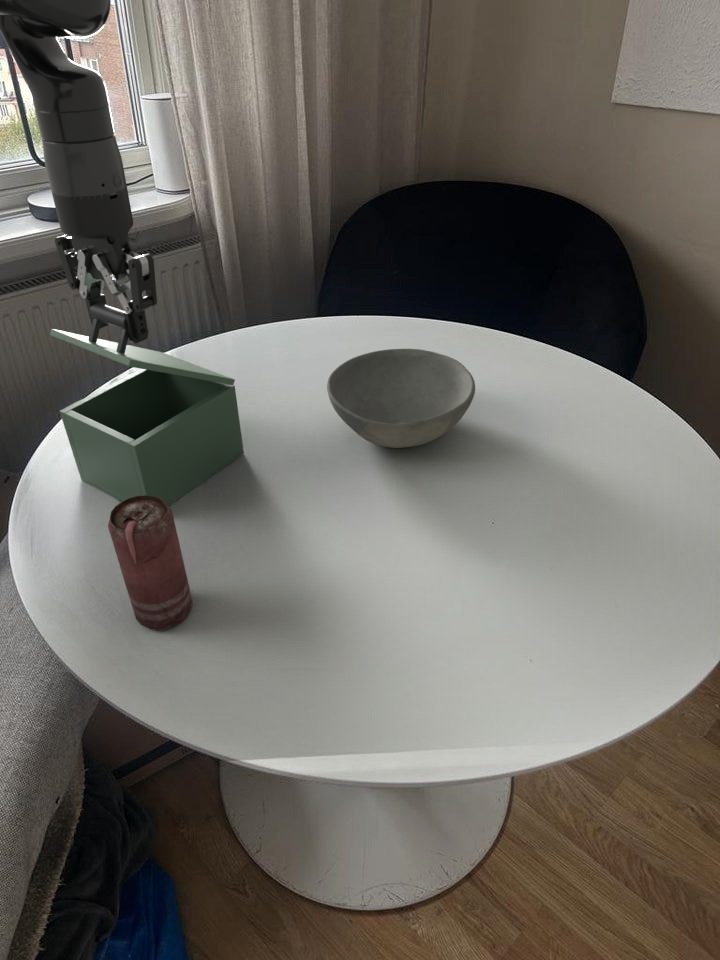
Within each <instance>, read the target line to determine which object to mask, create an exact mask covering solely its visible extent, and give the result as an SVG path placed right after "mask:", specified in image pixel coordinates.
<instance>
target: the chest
mask: <svg viewBox="0 0 720 960" xmlns="http://www.w3.org/2000/svg"><path fill="white" fill-rule="evenodd" d="M59 414H60V417H61V420H62V423H63V426H64V429H65V433H66V436H67V440H68V443H69V445H70V449H71V451H72V455H73V458H74V461H75V464H76V467H77V471H78V475H79V477H80V481H82V482H84V483H86V484H87V485H89V486H91V487H93V488H95V489H97V490H98V491H100V492H103V493H104V494H105V495H108V496H109V497H112V498H113V499H115V500H118V501H119V502H120V503H121V502H122V501H124V500H126V499H128V498H131V497H135V496H141V495H150V496H156V497H158V498H161V499H162V500H163V501H164V502H165V503H166V505H168V506H169V507H170V506H172V505H174V504H175V503H177V501H179V500H180V499H182V498H183V497H185V496H186V495H187V494H189V493H190V492H191V491H193V490H194V489H196V488H197V487H198V486H200V485H201V484H203V483H205V482H206V481H207V480H209V479H210V478H212V477H213V476H215V475H216V474H217V473H218V472H220V471H221V470H222V469H224V468H225V467H227V466H229V465H230V464H231V463H233V462H234V461H236V460H237V459H238V458H240V457H241V456H243V455H244V451H245V450H244V445H243V437H242V436H243V435H242V428H241V421H240V415H239V406H238V399H237V393H236V385H229V384H224V383H218V382H212V381H207V380H201V379H196V378H190V377H185V376H179V375H173V374H168V373H162V372H157V371H151V370H146V369H140V368H139V369H138V370H136V371H134V372H132V373H130V374H128V375H126V376H124V377H122V378H120V379H118V380H116V381H114V382H113V383H111V384H109V385H107V386H105V387H103V388H101V389H98V390H97V391H95V392H93V393H91V394H90V395H88V396H85V397H84V398H82V399H80V400H77V401H76V402H74V403H71V404H70V405H68V406H66V407H65V408H63V409H60V410H59Z"/></svg>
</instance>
